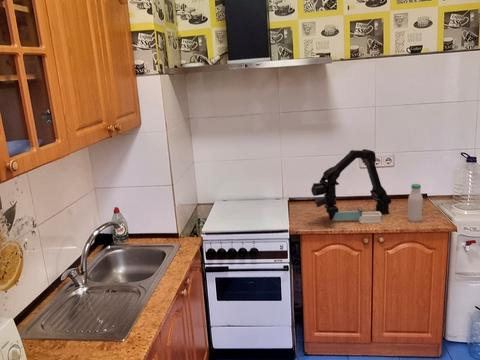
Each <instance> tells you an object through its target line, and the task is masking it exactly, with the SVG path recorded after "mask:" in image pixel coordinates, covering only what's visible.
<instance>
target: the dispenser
mask: <svg viewBox="0 0 480 360" xmlns="http://www.w3.org/2000/svg"><path fill="white" fill-rule="evenodd" d="M357 211H359V220H358V223H359V224H360V223H365V224H383V222H384V221H383V219H384V218H383V217H384V216H383V214H381V213H380V211H376V210H375V211H363V210H362V208H361V206H357Z"/></svg>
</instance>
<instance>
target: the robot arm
mask: <svg viewBox="0 0 480 360" xmlns="http://www.w3.org/2000/svg"><path fill="white" fill-rule="evenodd" d="M376 157H377V156H376V152H374V151H373V150H371V149H365V148H364V149H362V150H360V149H359V150H354V149H352V150H350V151H349V153H347V154H346V155H345V156H344V157H343V158H342V159H340V160H339V162H337V163H336V165H334V166H332V167H329V168H328V169H326V170H324V172H323V174H322V176H321V178H320V179H319V181H318V182H313V183H312V186H311V189H310V191H311V195H312V196H313V197H316V196H322V195H323V197H319V198H317V199H315V200H314V203H315V206H316V207H317V208H320V207H322V206H324V208H325V211H326V213H327V214H328V219H329V221H332V220H333V217H334V215H335V213H338V212H339V207H338V206H337V194H336V193H337V190H336V186H339V185H340V183H339V182H338V181H337V180H338V179H339V178H340V175H341V174H342V172H343V171H344V170H345V169H347V167H348V166H350V165H351V164H352V163H353V162H354V161H355V160H356V159H361V161H362V162H363V163H364V165H365V167H366V170H367V173H368V177H369V180H370V184H371V186H372V189H371V190H369V191H370V195H371V197H372V198H373V200H374V201H375V202H376V204H375V212H376V211H380V213H381V214H382V215H389V214H390V207H389V205H390V204H391V203H392V199H391V198H390V197H389V196H388V194H387V191H386V190H385V188H384V187H383V186H382V183H381V179H380V176H379V174H378V171H377V167H376V162H377V161H376V160H377V158H376Z"/></svg>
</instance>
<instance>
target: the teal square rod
mask: <svg viewBox="0 0 480 360" xmlns="http://www.w3.org/2000/svg"><path fill="white" fill-rule="evenodd" d="M354 220H355V221H359V211H358V210H346V211H345V210H342V211H341V210H340V211H339V210H338V213H335V215H334V217H333V220H332V221H354Z"/></svg>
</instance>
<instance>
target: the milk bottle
mask: <svg viewBox="0 0 480 360" xmlns="http://www.w3.org/2000/svg"><path fill="white" fill-rule="evenodd" d="M421 187H422V186H421V184H420V183H412V184H411V186H410V188H411V191H410V194H409V195H408V199H407V220H408V221H409V222H414V223H417V222H419V223H420V222H422V221H423V216H424V215H423V214H424V198H423V195H422V193H421Z"/></svg>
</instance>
